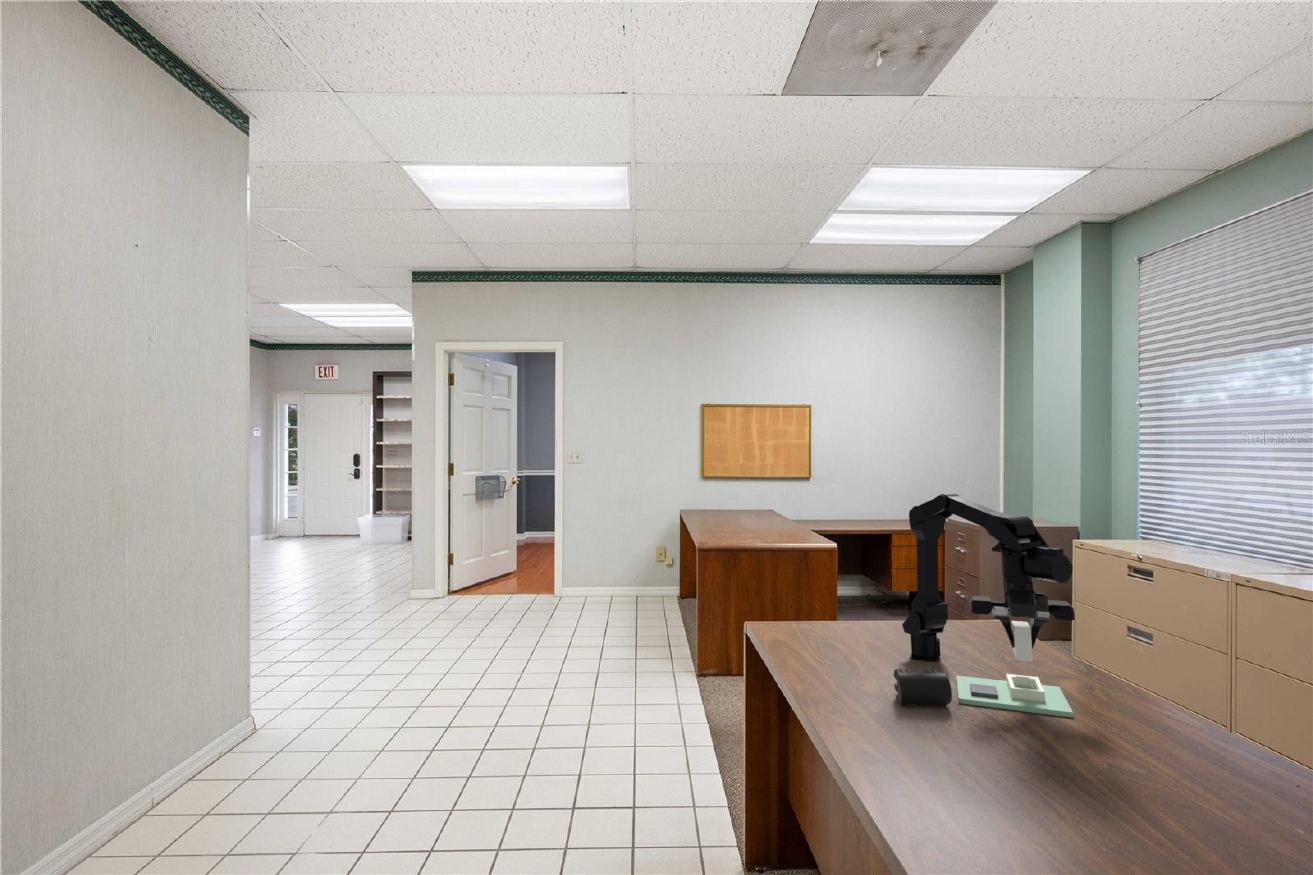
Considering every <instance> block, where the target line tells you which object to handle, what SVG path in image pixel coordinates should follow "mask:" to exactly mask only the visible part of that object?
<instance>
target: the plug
mask: <svg viewBox="0 0 1313 875" xmlns="http://www.w3.org/2000/svg"><path fill="white" fill-rule="evenodd" d="M1010 623H1011V628H1012V633H1013V638H1014V648H1013V647H1012V652H1013V656H1014V659H1015V661H1020V662H1031V663H1032V662H1034V659H1033V657H1034V656H1033V649H1032V641H1031V628H1030V623H1029V622H1028V621H1021V620H1019V621H1018V620H1010Z"/></svg>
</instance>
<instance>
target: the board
mask: <svg viewBox="0 0 1313 875" xmlns="http://www.w3.org/2000/svg"><path fill="white" fill-rule="evenodd" d="M1005 675H1006V680H999V679H990V678H982V677H972V676H964V675H962V676H961V675H956V685H957V686H956V687H957V698H958V704H962V705H963V704H964V705H970V706H980V707H986V708H987V707H988V708H995V709H1000V710H1001V709H1003V710H1010V711H1019V712H1026V713H1034V714H1041V715H1048V716H1049V715H1050V716H1057V717H1058V716H1059V717H1063V718H1064V717H1066V718H1074V712H1073V709H1072V708H1071V706H1070V704H1069V702H1068V700H1067V699H1066V696H1065V695H1064V693H1063V691H1062V689H1061V687H1060V686H1056V685H1045V684H1042V683H1041V681H1040V678H1039V676H1029V675H1022V674H1021V675H1020V674H1011V673H1005Z"/></svg>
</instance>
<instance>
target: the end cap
mask: <svg viewBox="0 0 1313 875" xmlns="http://www.w3.org/2000/svg"><path fill="white" fill-rule="evenodd" d="M921 671H922V672H912V671H911V670H910V669H908V668H896V669H894V670H893V677H894V679H895V680H896V683H894V685H893V687H894V691H896V694H895V697H896V700H897V701H898V703H899V704H900V705H901V706H921V707H923V706H927V707H931V706H932V707H947V706H948V705H949V704H950V703H951V702H952V699H953V694H952V692H953V691H952V686H951V681H950V678H949V677H948V675H947V673H946V672H939V671H938V670H936V669H934V668H931V669H930V668H929V669H927V668H924V669H923V668H922V670H921Z"/></svg>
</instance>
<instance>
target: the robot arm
mask: <svg viewBox="0 0 1313 875" xmlns="http://www.w3.org/2000/svg"><path fill="white" fill-rule="evenodd" d="M953 515H955V516H957V517H959V518H961V519H964V520H966V521H969V522H970V523H973V524H975V525H977V526H979V527H981V528H983V529H985V530H986V533H988V535H989V536H991V538H993V539H995V540H996V541H998V543H997V544H996V545H994V546H993V547H991V551H992V552H994V553H995V552H996V553H1000V562H1001V574H1002V575H1001V577H1002V593H1003V601H995V600H993V601H992V600H991V598H990V596H987V595H986V596H985V595H984V596H983V595H971V596H970V598H969V606H970V608H969V609H970V612H971V614H973V615H986V616H987V615H989V614H992V617H993V619H995V620H999V621H1000V622H1001V624H1002V626H1003V628H1004V631H1005V633H1006V634H1007V638H1008V639H1009V642H1010V645H1011V647H1012V649H1013V648H1014V638H1013V633H1012V624H1011V617H1014V618H1020V617H1022V618H1029V626H1030V628H1031V641H1032V650H1034V647H1035V644H1036V640H1037V638H1038V635H1039V632H1040V630H1041V629H1042V627H1043V625H1044V624H1045V623H1051V619H1050V617H1049V616H1050V615H1052V616H1053V617H1054V618H1055V619H1056V620H1063V621H1075V620H1076V617H1075V609H1074V607H1073V606H1072V605H1071V604H1070V603H1069V602H1068V601H1066V600H1056V599H1055V600H1051V599H1048V594H1047V593H1042V592H1036V591H1035V582H1034V579H1036V580H1044V581H1048V582H1053V583H1059V584H1064V583H1067V582H1069V580H1070V579H1071V576H1072V575H1073V564H1072V563H1071V561H1070V559H1069V557H1068V556H1067V555H1065V554H1064V549H1063V548H1060V547H1053V548H1052V547H1050V546H1049V544H1048V543H1047V542H1046V540H1045V539H1044V538H1043V536H1042V535H1041V533H1040V532H1039V531H1038V529H1037V528H1036V526H1035V524H1034V521H1033V519H1031V518H1030V517H1028V516H1026V515H1022V514H1016V513H1011V512H1001V511H997V510H994V509H991V508H990V507H987V506H984V505H982V504H979V503H977V502H974V501H972V500H970V499H967V498H965V497H962V496H961V495H959V494H957V493H952V492H951V493H941V494H939V495H937V496H936V497H934V498H932V499H931V500H928V501H925V502H923V503H921V504H919V505H915V506H913V507H912V508H911V509H909V512H908V519H909V527H910V530H911V532H912V533H913V535H914V536H915V538H916V571H917V572H916V573H917V576H916V579H917V583H916V584H917V593H916V595H915V597H914V598H913V600H912V602H911V603H910V604H911V605H910V610H909V611H910V613H909V615H908V617H907V618H906V619H905V620H904V621H903V622H902V624H901V626H902V629H903V632H904V633H905V634H908V635H909V636H910V649H911V650H910V651H911V652H910V658H911V659H913V660H914V659H915V660H923V661H931V662H932V661H933V662H939V660H940V657H941V643H940V642H941V640H940V637H938V634H942V633H943V632H944V631H945V630H944V629H945V626H946V624H947V621H948V620H949V612H948V610H949V605H948V603H946V602H944V601H943V600H942V598H941V597H940V595H939V539H940V538H941V536H942V534H943V532H944V531H945V526H946V520H947V519H949V518H950V517H952V516H953ZM1010 616H1011V617H1010Z"/></svg>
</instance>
